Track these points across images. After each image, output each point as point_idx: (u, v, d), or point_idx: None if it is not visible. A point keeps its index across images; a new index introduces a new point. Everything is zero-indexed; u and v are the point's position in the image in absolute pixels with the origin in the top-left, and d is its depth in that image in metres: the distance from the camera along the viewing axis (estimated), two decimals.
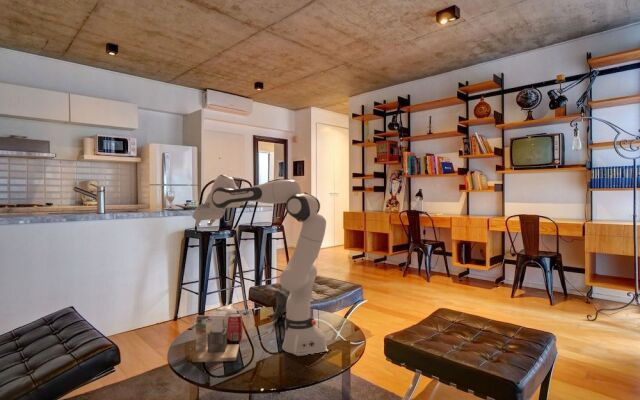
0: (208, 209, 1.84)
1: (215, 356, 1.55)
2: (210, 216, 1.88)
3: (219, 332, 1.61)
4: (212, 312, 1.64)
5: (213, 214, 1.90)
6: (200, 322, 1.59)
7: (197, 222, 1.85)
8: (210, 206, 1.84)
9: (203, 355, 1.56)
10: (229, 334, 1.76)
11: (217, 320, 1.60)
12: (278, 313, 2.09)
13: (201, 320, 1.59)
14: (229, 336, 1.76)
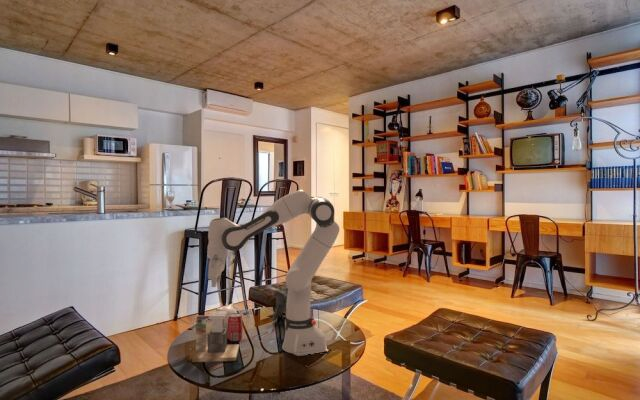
0: (219, 261, 1.59)
1: (215, 356, 1.55)
2: (220, 268, 1.63)
3: (219, 332, 1.61)
4: (212, 312, 1.64)
5: (221, 266, 1.65)
6: (200, 322, 1.59)
7: (213, 281, 1.58)
8: (219, 257, 1.60)
9: (203, 355, 1.56)
10: (229, 334, 1.76)
11: (217, 320, 1.60)
12: (278, 313, 2.09)
13: (201, 320, 1.59)
14: (229, 336, 1.76)
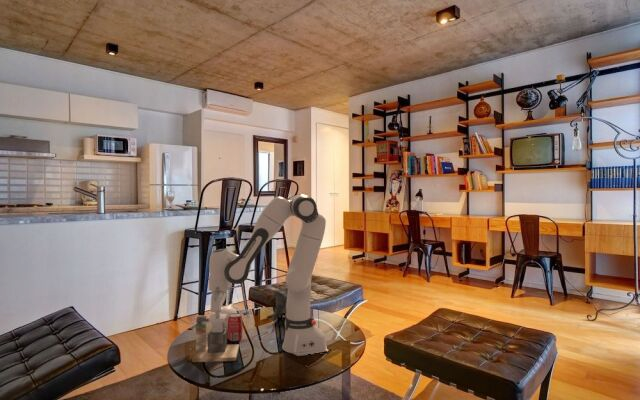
0: (221, 293, 1.58)
1: (215, 356, 1.55)
2: (222, 300, 1.62)
3: None
4: (212, 315, 1.64)
5: (223, 297, 1.64)
6: (200, 323, 1.59)
7: (217, 311, 1.61)
8: (221, 289, 1.59)
9: (203, 355, 1.56)
10: (229, 334, 1.76)
11: (217, 323, 1.60)
12: (278, 313, 2.09)
13: None
14: (229, 336, 1.76)
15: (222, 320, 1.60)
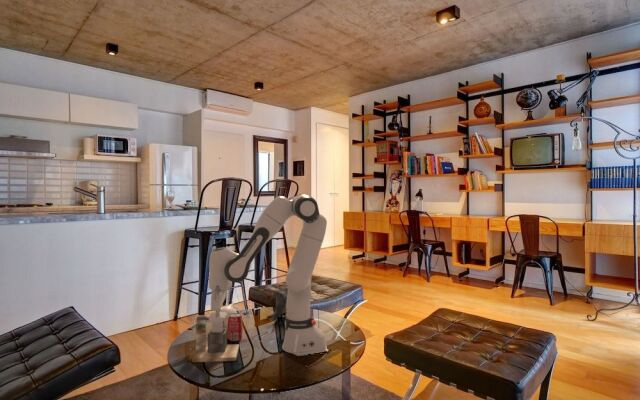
0: (221, 292, 1.58)
1: (215, 356, 1.55)
2: (222, 299, 1.62)
3: (219, 333, 1.61)
4: (212, 314, 1.64)
5: (223, 296, 1.64)
6: (200, 328, 1.59)
7: (217, 310, 1.61)
8: (221, 288, 1.59)
9: (203, 355, 1.56)
10: (229, 334, 1.76)
11: (217, 321, 1.60)
12: (277, 313, 2.09)
13: None
14: (229, 336, 1.76)
15: (222, 319, 1.60)
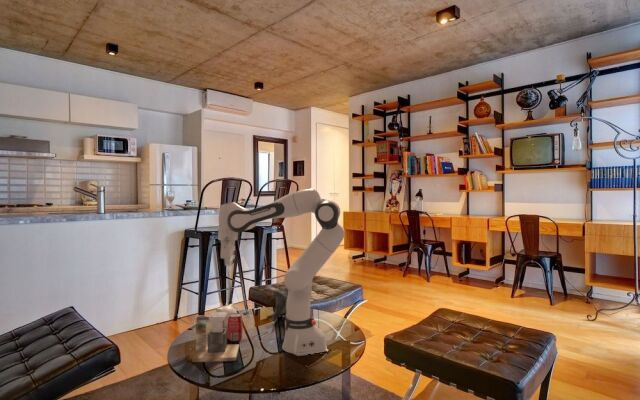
0: (230, 243, 1.69)
1: (215, 356, 1.55)
2: None
3: (219, 333, 1.61)
4: (212, 313, 1.64)
5: (231, 248, 1.75)
6: (200, 328, 1.59)
7: (226, 260, 1.72)
8: (230, 239, 1.70)
9: (203, 355, 1.56)
10: (229, 334, 1.76)
11: (217, 321, 1.60)
12: (277, 313, 2.09)
13: None
14: (229, 336, 1.76)
15: (222, 318, 1.60)
